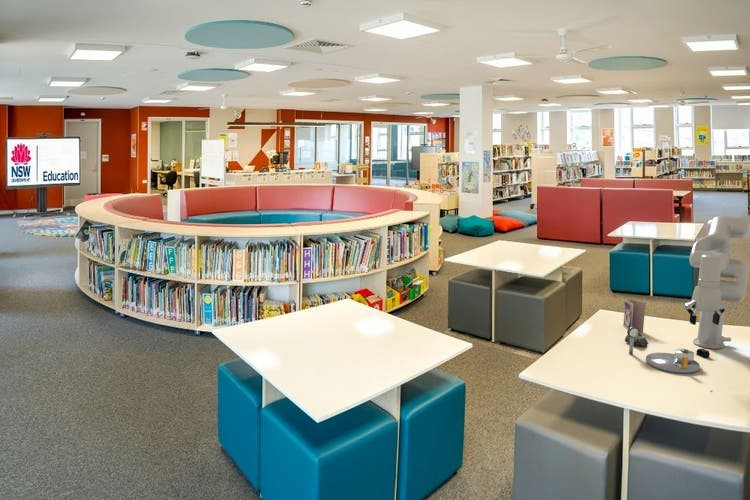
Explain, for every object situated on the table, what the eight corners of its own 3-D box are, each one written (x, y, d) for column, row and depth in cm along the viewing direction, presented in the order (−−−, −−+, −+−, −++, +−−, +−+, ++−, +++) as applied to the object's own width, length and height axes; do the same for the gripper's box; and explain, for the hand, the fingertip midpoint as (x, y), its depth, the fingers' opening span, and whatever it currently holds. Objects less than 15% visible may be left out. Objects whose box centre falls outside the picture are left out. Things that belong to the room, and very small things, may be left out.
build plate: (684, 355, 246) (685, 346, 245) (698, 354, 248) (699, 344, 247) (707, 365, 234) (708, 355, 233) (721, 364, 236) (722, 354, 235)
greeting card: (621, 325, 287) (623, 298, 284) (636, 326, 286) (638, 298, 283) (629, 332, 275) (631, 304, 273) (644, 333, 275) (647, 304, 272)
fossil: (653, 349, 250) (644, 330, 249) (633, 357, 252) (624, 338, 251) (646, 341, 260) (637, 323, 259) (627, 348, 263) (618, 330, 262)
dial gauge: (639, 354, 246) (642, 324, 244) (647, 358, 240) (650, 328, 238) (620, 354, 246) (623, 324, 243) (627, 359, 240) (630, 329, 237)
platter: (680, 355, 241) (681, 341, 240) (710, 373, 221) (712, 358, 220) (636, 356, 240) (637, 342, 239) (662, 374, 220) (664, 359, 219)
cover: (686, 357, 234) (687, 347, 233) (697, 363, 227) (698, 353, 227) (670, 358, 234) (671, 347, 233) (680, 364, 227) (682, 353, 226)
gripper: (723, 282, 230) (718, 321, 233) (682, 282, 230) (678, 321, 232) (735, 286, 223) (730, 326, 225) (693, 286, 222) (689, 326, 225)
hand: (704, 323), depth 229 cm, fingers open, 9 cm apart
